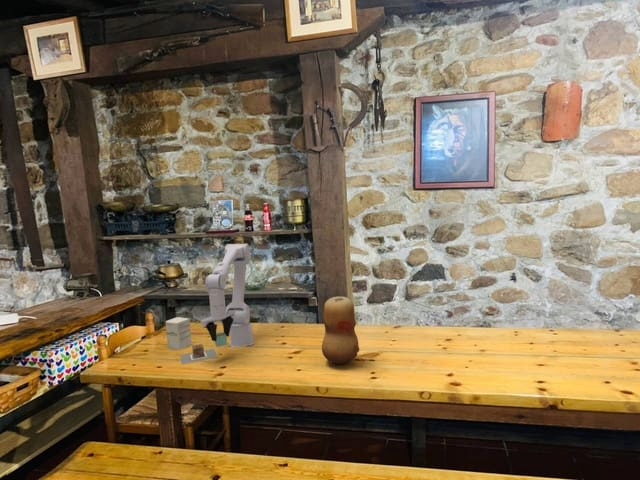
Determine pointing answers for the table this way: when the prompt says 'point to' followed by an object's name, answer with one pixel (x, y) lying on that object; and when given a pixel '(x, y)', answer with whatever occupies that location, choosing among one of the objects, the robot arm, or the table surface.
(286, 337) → the table surface
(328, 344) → the butternut squash
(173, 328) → the supplement box
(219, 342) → the teal block
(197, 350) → the walnut block
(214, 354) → the slate board
